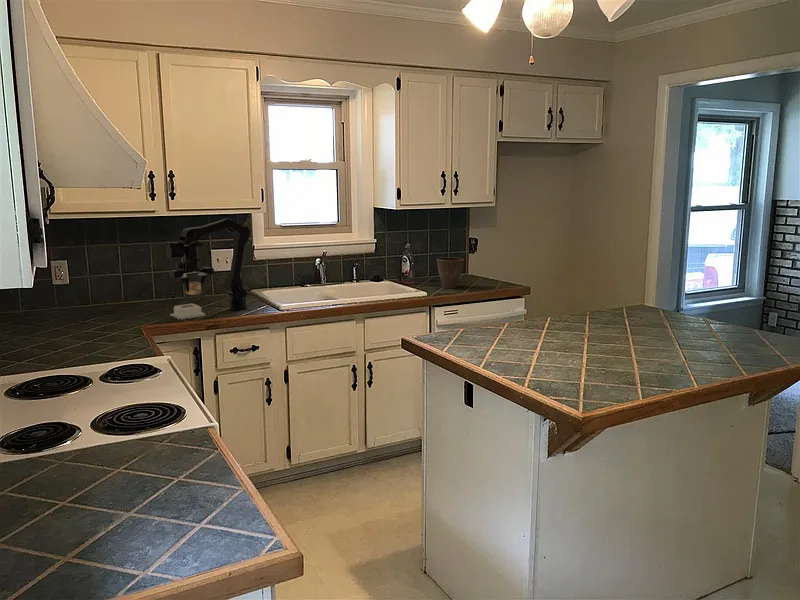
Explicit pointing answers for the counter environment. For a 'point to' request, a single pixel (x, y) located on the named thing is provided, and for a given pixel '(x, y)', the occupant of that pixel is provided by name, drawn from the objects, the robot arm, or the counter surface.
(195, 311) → the base
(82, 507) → the counter surface
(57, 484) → the counter surface
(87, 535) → the counter surface
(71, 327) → the counter surface
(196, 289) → the block
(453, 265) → the plant pot
